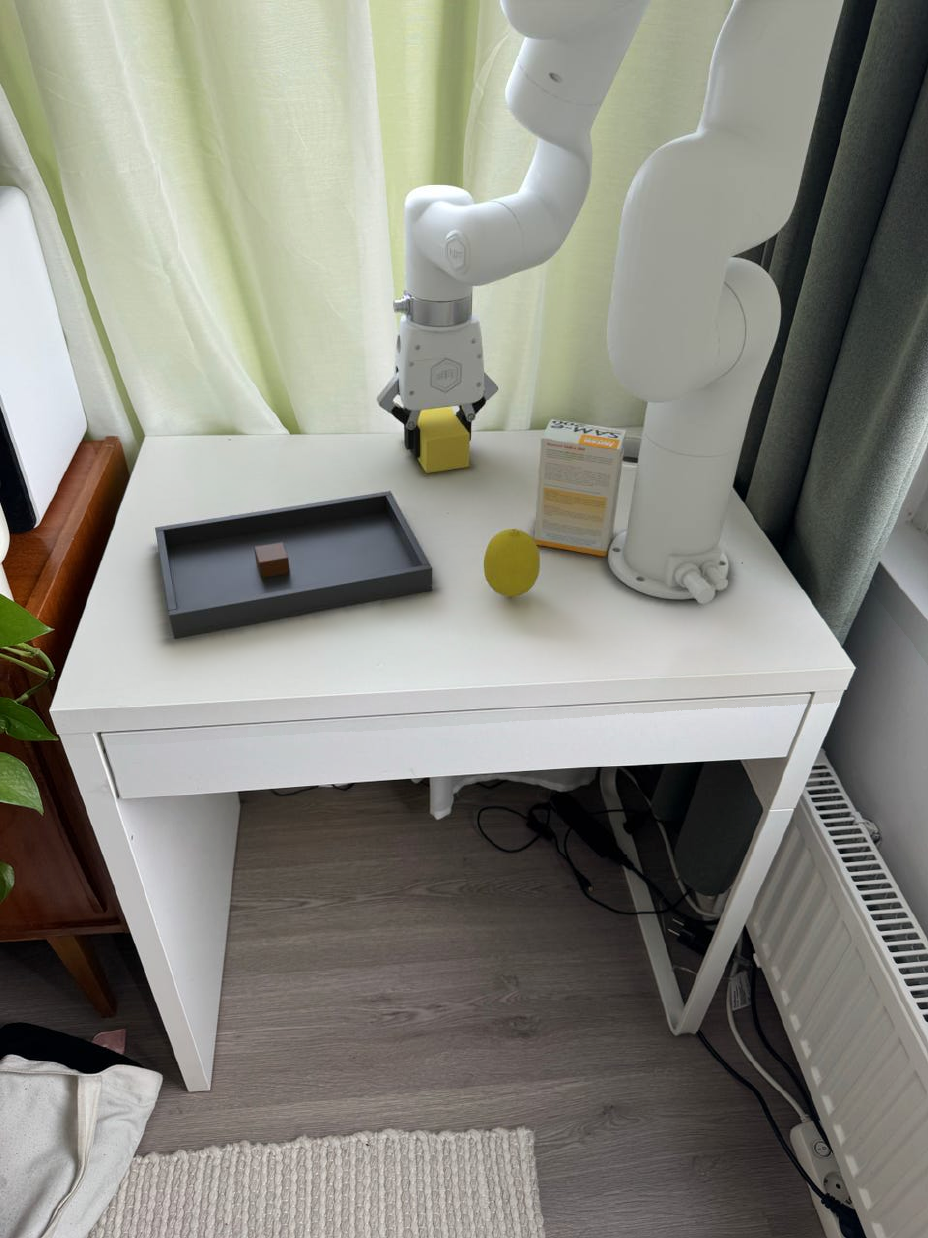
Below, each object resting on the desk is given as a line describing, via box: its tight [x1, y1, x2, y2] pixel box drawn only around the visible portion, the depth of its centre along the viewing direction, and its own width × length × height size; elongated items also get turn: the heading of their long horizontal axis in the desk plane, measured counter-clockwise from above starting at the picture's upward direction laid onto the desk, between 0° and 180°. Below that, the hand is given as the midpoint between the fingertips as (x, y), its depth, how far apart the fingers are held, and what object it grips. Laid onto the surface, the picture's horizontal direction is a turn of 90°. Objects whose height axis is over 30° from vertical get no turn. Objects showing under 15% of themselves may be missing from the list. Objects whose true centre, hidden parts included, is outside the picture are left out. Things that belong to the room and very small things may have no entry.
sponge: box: [416, 407, 471, 474], centre depth 115 cm, size 8×6×4 cm
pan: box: [154, 490, 433, 639], centre depth 96 cm, size 16×26×3 cm, turn 109°
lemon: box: [483, 528, 541, 598], centre depth 92 cm, size 6×6×8 cm
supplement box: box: [533, 418, 627, 558], centre depth 98 cm, size 8×5×13 cm, turn 73°
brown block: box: [254, 542, 290, 578], centre depth 95 cm, size 3×3×2 cm
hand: (437, 448), depth 116 cm, fingers closed on sponge, 5 cm apart
